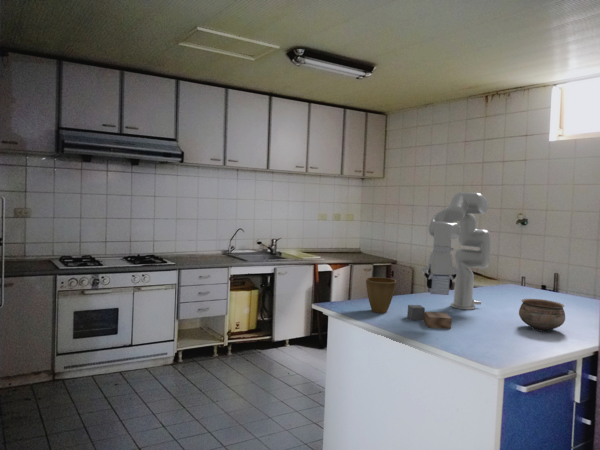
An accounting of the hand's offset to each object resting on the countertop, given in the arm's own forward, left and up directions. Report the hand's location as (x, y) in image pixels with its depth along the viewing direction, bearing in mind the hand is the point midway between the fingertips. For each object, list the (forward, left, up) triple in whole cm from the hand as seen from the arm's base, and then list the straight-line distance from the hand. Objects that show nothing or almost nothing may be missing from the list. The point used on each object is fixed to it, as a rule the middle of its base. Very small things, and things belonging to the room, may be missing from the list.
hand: (439, 288), depth 216 cm
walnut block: (0, 0, -17) cm, 17 cm away
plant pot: (+20, -24, -17) cm, 36 cm away
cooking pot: (-48, +4, -17) cm, 51 cm away
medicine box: (0, 0, -3) cm, 3 cm away
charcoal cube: (+6, -11, -17) cm, 21 cm away
